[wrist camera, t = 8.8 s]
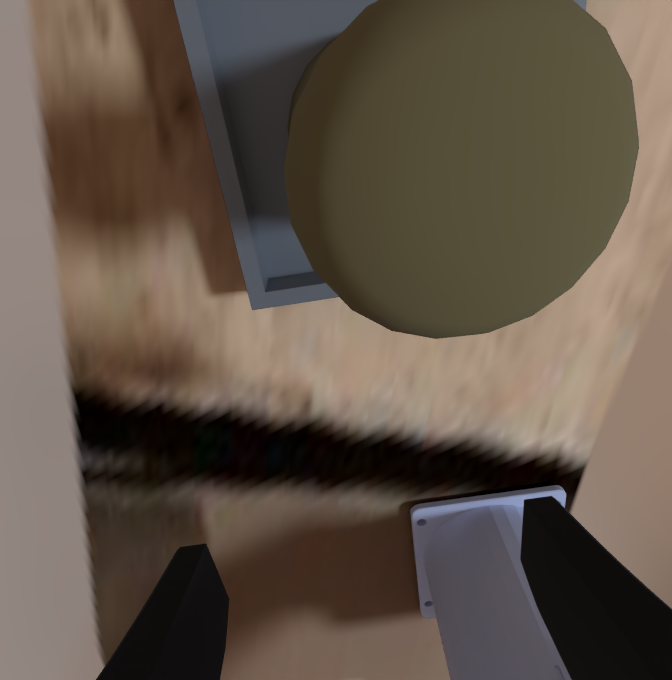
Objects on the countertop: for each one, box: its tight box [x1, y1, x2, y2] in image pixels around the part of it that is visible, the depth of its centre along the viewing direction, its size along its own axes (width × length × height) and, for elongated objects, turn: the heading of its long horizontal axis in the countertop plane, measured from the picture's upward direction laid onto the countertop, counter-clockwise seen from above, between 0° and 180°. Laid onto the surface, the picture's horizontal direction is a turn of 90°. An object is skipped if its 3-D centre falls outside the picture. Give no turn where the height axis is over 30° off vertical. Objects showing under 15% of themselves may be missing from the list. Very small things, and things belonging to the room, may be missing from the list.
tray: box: [173, 0, 586, 310], centre depth 15 cm, size 11×11×2 cm
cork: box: [283, 0, 639, 339], centre depth 11 cm, size 6×6×11 cm
